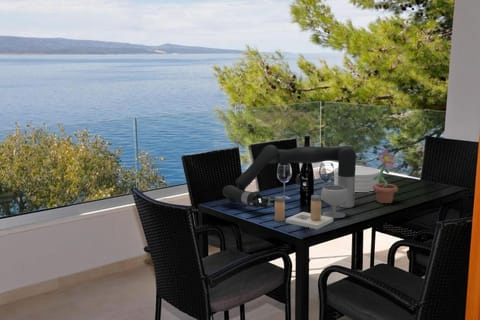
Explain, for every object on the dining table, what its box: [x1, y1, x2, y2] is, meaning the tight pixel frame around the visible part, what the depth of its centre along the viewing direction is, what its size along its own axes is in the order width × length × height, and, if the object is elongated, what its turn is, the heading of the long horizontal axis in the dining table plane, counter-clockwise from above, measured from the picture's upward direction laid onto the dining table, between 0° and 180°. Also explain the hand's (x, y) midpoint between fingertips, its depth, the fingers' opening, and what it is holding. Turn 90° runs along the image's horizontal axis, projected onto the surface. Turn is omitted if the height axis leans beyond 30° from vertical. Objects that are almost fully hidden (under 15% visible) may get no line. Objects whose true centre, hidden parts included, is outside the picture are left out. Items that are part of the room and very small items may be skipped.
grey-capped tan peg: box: [274, 195, 286, 222], centre depth 270 cm, size 5×5×12 cm
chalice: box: [320, 184, 348, 219], centre depth 277 cm, size 14×14×15 cm
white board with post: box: [285, 194, 334, 230], centre depth 266 cm, size 16×18×14 cm
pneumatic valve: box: [295, 173, 316, 186], centre depth 329 cm, size 6×12×12 cm, turn 123°
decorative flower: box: [373, 149, 399, 205], centre depth 302 cm, size 15×14×30 cm
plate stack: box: [333, 165, 380, 193], centre depth 340 cm, size 28×28×12 cm
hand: (273, 204), depth 274 cm, fingers open, 8 cm apart
